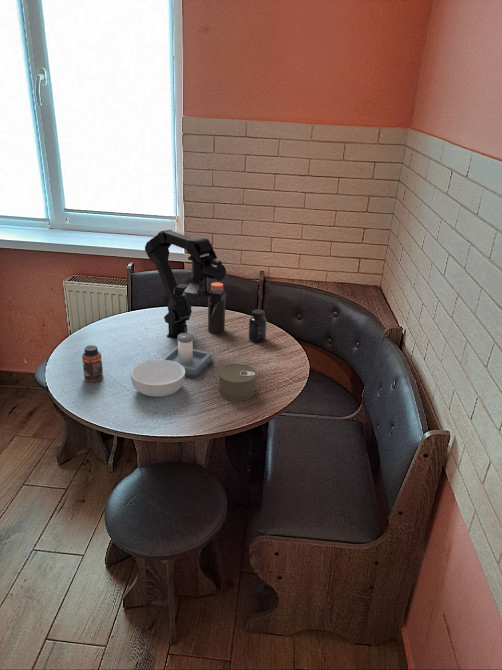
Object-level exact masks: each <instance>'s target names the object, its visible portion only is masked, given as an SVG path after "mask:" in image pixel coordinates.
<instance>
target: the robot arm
mask: <svg viewBox="0 0 502 670" xmlns="http://www.w3.org/2000/svg"><path fill="white" fill-rule="evenodd" d="M172 245H173V246H176V247H178V248H181V249H182V250H183V249H184V250H185V251H186V253H187V254H188V255H190V256H189V257H188V258H187V260H188V261H190V262H191V277H190V279H189V284H187V283H179V284H178V283H177V280H176V278H175V274H174V272H173V270H172V267H171V264H170V262H169V257H170V250H169V248H170V247H171V246H172ZM144 251H145V252H146V253H145V254H146V255H147V256H148V260H150V261H151V262H152V263H153V264H154V265H155V266H156V268H157V271H158V273H159V277H160V279H161V282H162V285H163V288H164V290H165V294H166V296H167V298H168V303H167V310H168V313H167V314H165V315H164V317H163V318H164V322H165V323H167V325H168V334H167V335H166V337H167V338H171V339H176V340H178V335H179V334H181V333H189V332H188V325H187V321H189V320H190V318H191V315H192V313H193V310H192V305H191V301H192V300H193V301H198V300H199V299H200V298H204V297H207V298H208V297H210V299H211V301H210V304H211V307H210V317H212V316H213V313H214V311H215V309H216V306H217V304H218V303H219V302H222V301H223V300H224V299H225V300H226V299H227V292H226V290H225V289H223V290H218V289H216V290H215V291H213V292H212V291H211V290H210V285H209V279H211V280H215V281H216V282H221V281H223V280H224V279H225V277H226V274H227V269H226V267H225V266H224V265H223V261H222V260H217V259H218V256H217V255H216V252H215V249H214V248H213V246H212V243H211V241H210V240H209V238H207V237H191V236H187V235H185V234H182V233H178V232H176V231H174V230H173V229H165V230H161V231H159V232H158V233H157V235H155V236H154V237H152V238H151V239H149V240H148V241H147V242H146V244H145V246H144Z"/></svg>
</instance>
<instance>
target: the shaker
mask: <svg viewBox="0 0 502 670" xmlns="http://www.w3.org/2000/svg"><path fill="white" fill-rule="evenodd" d="M193 340H194V336H193V334H192V333H189V332H188V333H181V334H179V335H178V339H177V346H178V363H179V364H180V365H183V366H188V365H191V364H192V363H193V349H194V348H193Z"/></svg>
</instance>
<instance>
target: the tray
mask: <svg viewBox="0 0 502 670" xmlns="http://www.w3.org/2000/svg"><path fill="white" fill-rule="evenodd" d="M161 360H170V361H174V362H177V363H178V345H176V346H175V347H174V348H172V350H170V351H169V352H168V353H167V354H165V355H164V356H163V357H162V358H161ZM212 360H213V352H208V351H204V350H200V349H194V348H193V363H192V364H191V365H188V366H183V365H182V366H183V367H184V369H185V377H190V378H194V379H196V378H197V377H198V375H200V373H202V372H203V370H204V369H205V368H207V366H208V365H209V364H210V363H212Z"/></svg>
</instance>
